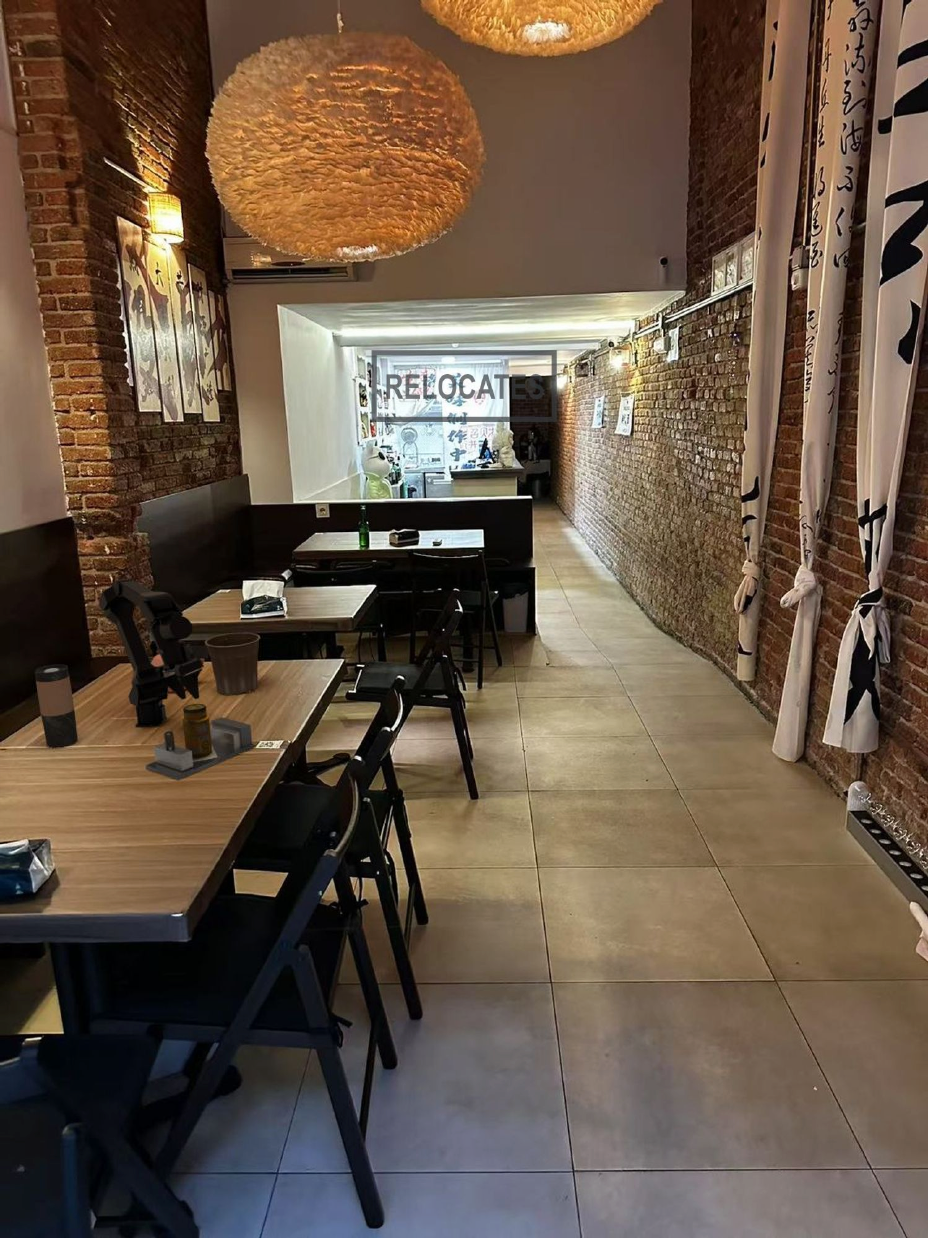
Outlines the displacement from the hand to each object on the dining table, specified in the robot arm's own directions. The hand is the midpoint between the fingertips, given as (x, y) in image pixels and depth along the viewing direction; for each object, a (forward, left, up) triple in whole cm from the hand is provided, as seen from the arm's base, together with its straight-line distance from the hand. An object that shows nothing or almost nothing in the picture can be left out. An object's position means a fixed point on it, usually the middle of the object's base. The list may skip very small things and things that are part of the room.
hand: (190, 698), depth 200 cm
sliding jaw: (+2, -21, -9) cm, 23 cm away
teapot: (-21, +43, -10) cm, 49 cm away
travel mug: (-33, -2, -10) cm, 35 cm away
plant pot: (+1, +39, -10) cm, 40 cm away
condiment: (+6, -15, -9) cm, 19 cm away
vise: (+7, -15, -10) cm, 19 cm away
